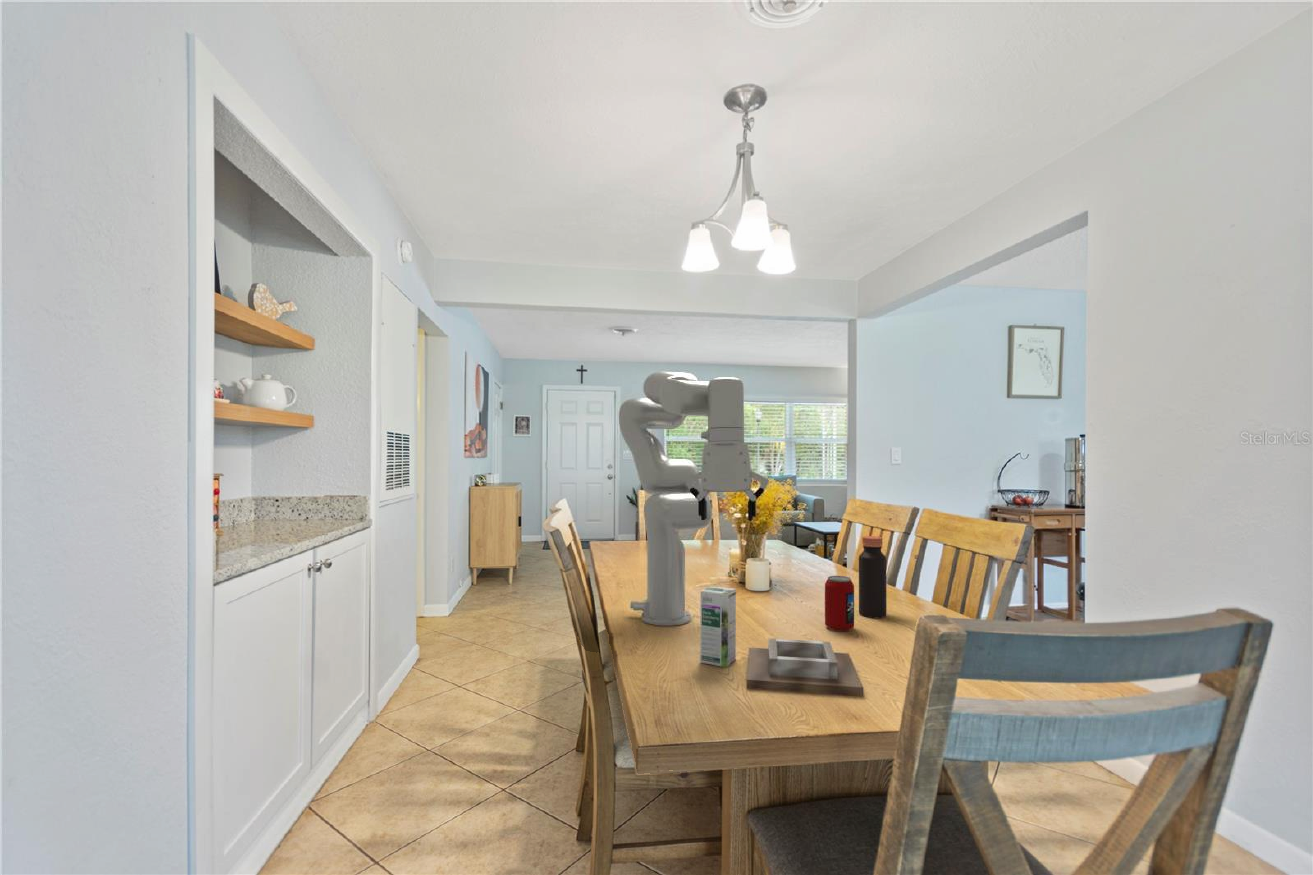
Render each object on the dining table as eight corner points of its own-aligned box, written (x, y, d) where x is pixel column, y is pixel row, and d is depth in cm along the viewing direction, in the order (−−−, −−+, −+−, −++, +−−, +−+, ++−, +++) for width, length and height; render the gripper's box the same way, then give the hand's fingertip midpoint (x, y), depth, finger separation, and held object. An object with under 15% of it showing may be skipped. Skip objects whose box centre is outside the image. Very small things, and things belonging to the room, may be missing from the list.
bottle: (889, 613, 159) (888, 536, 159) (883, 619, 153) (883, 540, 153) (862, 610, 162) (862, 534, 163) (855, 615, 157) (855, 537, 157)
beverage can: (858, 632, 142) (857, 581, 142) (829, 632, 142) (828, 580, 143) (849, 624, 149) (849, 575, 149) (821, 624, 149) (821, 575, 149)
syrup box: (699, 663, 121) (699, 590, 122) (710, 654, 127) (710, 584, 127) (726, 668, 119) (726, 593, 119) (736, 659, 124) (736, 587, 124)
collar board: (746, 688, 109) (746, 662, 109) (748, 654, 126) (748, 633, 127) (863, 696, 105) (863, 670, 105) (848, 660, 123) (848, 638, 123)
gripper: (681, 437, 125) (682, 521, 124) (767, 435, 121) (768, 522, 120) (688, 438, 133) (689, 517, 132) (769, 437, 128) (770, 519, 128)
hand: (727, 519), depth 126 cm, fingers open, 9 cm apart
